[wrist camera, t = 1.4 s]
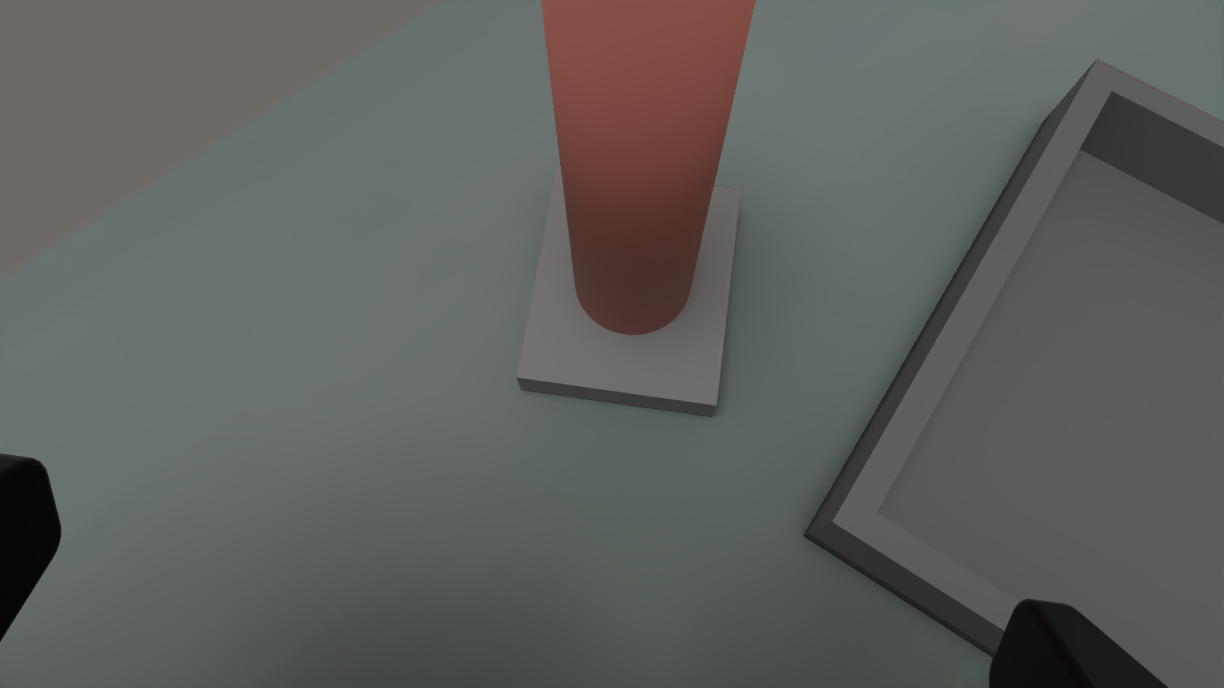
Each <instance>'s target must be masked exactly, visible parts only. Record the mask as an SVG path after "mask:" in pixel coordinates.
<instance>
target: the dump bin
mask: <svg viewBox="0 0 1224 688" xmlns="http://www.w3.org/2000/svg"><path fill="white" fill-rule="evenodd" d="M804 536H805V537H806V538H808V539H809V540H811V541H812V542H814V543H816V544H817V545H819V546H820V547H822V548H823V549H825V550H827V551H828V552H830V553H831V554H833V555H834V556H836V557H837V558H839V559H841V560H842V561H844V562H845V563H847V564H848V565H850V566H851V567H853V568H855V569H856V570H858V571H859V572H861V573H862V574H864V575H866V576H867V577H869V578H870V579H872V580H873V581H875V582H876V583H878V584H880V585H881V586H883V587H884V588H886V589H887V590H889V591H890V592H892V593H894V594H895V595H897V596H898V597H900V598H901V599H903V600H905V601H906V602H908V603H909V604H911V605H912V606H914V607H915V608H917V609H919V610H920V611H922V612H923V613H925V614H926V615H928V616H929V617H931V618H933V619H934V620H936V621H937V622H939V623H940V624H942V625H943V626H945V627H947V628H948V629H950V630H951V631H953V632H954V633H956V634H958V635H959V636H961V637H962V638H964V639H965V640H967V641H968V642H970V643H972V644H973V645H975V646H976V647H978V648H979V649H981V650H982V651H984V652H986V653H987V654H989V655H990V656H992V657H993V658H994V655H995V653H996V650H997V648H998V646H999V643H1000V641H1001V638H1002V636H1003V634H1004V631H1005V629H1006V626H1007V624H1008V622H1009V619H1010V617H1011V614H1012V612H1013V610H1014V608H1015V607H1016V605H1017V604H1018V603H1019V602H1020V601H1022V600H1025V599H1036V600H1043V601H1050V602H1057V603H1064V604H1067V605H1070V606H1072V607H1074V608H1075V609H1076V610H1078V611H1079V612H1080V613H1082V614H1083V615H1084V616H1085V617H1086V618H1087V619H1089V620H1090V621H1091V622H1092V623H1093V624H1094V625H1096V626H1097V627H1098V628H1099V629H1100V630H1102V631H1103V632H1104V633H1105V634H1106V635H1107V636H1109V637H1110V638H1111V639H1112V640H1113V641H1114V642H1116V643H1117V644H1118V645H1119V646H1120V647H1122V648H1123V649H1124V650H1125V651H1126V652H1127V653H1129V654H1130V655H1131V656H1132V657H1133V658H1134V659H1136V660H1137V661H1138V662H1139V663H1140V664H1142V665H1143V666H1144V667H1145V668H1146V669H1147V670H1149V671H1150V672H1151V673H1152V674H1153V675H1154V676H1156V677H1157V678H1158V679H1159V680H1160V681H1162V682H1163V683H1164V684H1165V685H1166V686H1167V687H1169V688H1224V121H1222V120H1220V119H1218V118H1216V117H1214V116H1212V115H1210V114H1208V113H1206V112H1204V111H1202V110H1200V109H1198V108H1196V107H1194V106H1192V105H1190V104H1188V103H1186V102H1184V101H1182V100H1180V99H1178V98H1176V97H1174V96H1172V95H1170V94H1168V93H1166V92H1164V91H1162V90H1160V89H1158V88H1156V87H1154V86H1152V85H1150V84H1148V83H1146V82H1144V81H1142V80H1140V79H1138V78H1135V77H1133V76H1131V75H1129V74H1127V73H1125V72H1123V71H1121V70H1119V69H1117V68H1115V67H1113V66H1111V65H1109V64H1107V63H1105V62H1103V61H1101V60H1099V59H1096V60H1095V62H1094V63H1093V64H1092V65H1091V66H1090V67H1089V69H1088V70H1087V71H1086V72H1085V73H1084V75H1083V76H1082V77H1081V78H1080V79H1079V80H1078V82H1077V83H1076V84H1075V85H1074V86H1073V87H1072V89H1071V90H1070V91H1069V92H1068V93H1067V95H1066V96H1065V97H1064V98H1063V99H1062V100H1061V102H1060V103H1059V104H1058V105H1057V106H1056V107H1055V109H1054V110H1053V111H1052V112H1051V113H1050V115H1049V116H1048V117H1047V118H1046V119H1045V120H1044V122H1043V123H1042V124H1041V126H1040V128H1039V130H1038V131H1037V133H1036V135H1035V136H1034V138H1033V140H1032V142H1031V143H1030V145H1029V147H1028V149H1027V150H1026V152H1025V154H1024V155H1023V157H1022V159H1021V161H1020V162H1019V164H1018V166H1017V168H1016V169H1015V171H1014V173H1013V174H1012V176H1011V178H1010V180H1009V181H1008V183H1007V185H1006V187H1005V188H1004V190H1003V192H1002V193H1001V195H1000V197H999V199H998V200H997V202H996V204H995V206H994V207H993V209H992V211H991V212H990V214H989V216H988V218H987V219H986V221H985V223H984V225H983V226H982V228H981V230H980V231H979V233H978V235H977V237H976V238H975V240H974V242H973V244H972V245H971V247H970V249H969V250H968V252H967V254H966V256H965V257H964V259H963V261H962V263H961V264H960V266H959V268H958V269H957V271H956V273H955V275H954V276H953V278H952V280H951V282H950V283H949V285H948V287H947V289H946V290H945V292H944V294H943V295H942V297H941V299H940V301H939V302H938V304H937V306H936V308H935V309H934V311H933V313H932V314H931V316H930V318H929V320H928V321H927V323H926V325H925V327H924V328H923V330H922V332H921V333H920V335H919V337H918V339H917V340H916V342H915V344H914V346H913V347H912V349H911V351H910V352H909V354H908V356H907V358H906V359H905V361H904V363H903V365H902V366H901V368H900V370H899V371H898V373H897V375H896V377H895V378H894V380H893V382H892V384H891V385H890V387H889V389H888V390H887V392H886V394H885V396H884V397H883V399H882V401H881V403H880V404H879V406H878V408H877V409H876V411H875V413H874V415H873V416H872V418H871V420H870V422H869V423H868V425H867V427H866V428H865V430H864V432H863V434H862V435H861V437H860V439H859V441H858V442H857V444H856V446H855V447H854V449H853V451H852V453H851V454H850V456H849V458H848V460H847V461H846V463H845V465H844V467H843V468H842V470H841V472H840V473H839V475H838V477H837V479H836V480H835V482H834V484H833V486H832V487H831V489H830V491H829V492H828V494H827V496H826V498H825V499H824V501H823V503H822V505H821V506H820V508H819V510H818V511H817V513H816V515H815V517H814V518H813V520H812V522H811V524H810V525H809V527H808V529H807V530H806V532H805V534H804Z"/></svg>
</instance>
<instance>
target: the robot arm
mask: <svg viewBox="0 0 1224 688" xmlns="http://www.w3.org/2000/svg"><path fill="white" fill-rule="evenodd" d="M60 539H61V524H60V520H59V516H58V512H57V508H56V504H55V500H54V496H53V492H52V488H51V484H50V480H49V476H48V473H47V470H46V468H45V467H44V466H43V465H42V463H41V462H40V461H38V460H36V459H33V458H29V457H22V456H15V455H8V454H0V641H1V640H2V638H3V637H4V635H5V633H6V632H7V630H8V629H9V627H10V625H11V624H12V622H13V621H14V619H15V618H16V616H17V614H18V613H19V611H20V610H21V608H22V606H23V605H24V603H25V602H26V600H27V598H28V597H29V595H30V594H31V592H32V591H33V589H34V587H35V586H36V584H37V583H38V581H39V579H40V578H41V576H42V575H43V573H44V572H45V570H46V568H47V567H48V565H49V564H50V562H51V560H52V559H53V557H54V555H55V553H56V551H57V549H58V546H59V543H60ZM989 688H1169V687H1167V686H1166V685H1165V684H1164V683H1163V682H1162V681H1160V680H1159V679H1158V678H1157V677H1156V676H1154V675H1153V674H1152V673H1151V672H1150V671H1149V670H1147V669H1146V668H1145V667H1144V666H1143V665H1142V664H1140V663H1139V662H1138V661H1137V660H1136V659H1134V658H1133V657H1132V656H1131V655H1130V654H1129V653H1127V652H1126V651H1125V650H1124V649H1123V648H1122V647H1120V646H1119V645H1118V644H1117V643H1116V642H1114V641H1113V640H1112V639H1111V638H1110V637H1109V636H1107V635H1106V634H1105V633H1104V632H1103V631H1102V630H1100V629H1099V628H1098V627H1097V626H1096V625H1094V624H1093V623H1092V622H1091V621H1090V620H1089V619H1087V618H1086V617H1085V616H1084V615H1083V614H1082V613H1080V612H1079V611H1078V610H1076V609H1075V608H1074V607H1072V606H1070V605H1067V604H1064V603H1057V602H1050V601H1043V600H1036V599H1025V600H1022V601H1020V602H1019V603H1018V604H1017V605H1016V607H1015V608H1014V610H1013V612H1012V614H1011V617H1010V619H1009V622H1008V624H1007V626H1006V629H1005V631H1004V634H1003V636H1002V638H1001V641H1000V643H999V646H998V648H997V650H996V653H995V655H994V658H993V660H992V663H991V667H990V673H989Z"/></svg>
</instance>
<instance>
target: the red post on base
mask: <svg viewBox="0 0 1224 688" xmlns="http://www.w3.org/2000/svg"><path fill="white" fill-rule="evenodd" d="M541 3H542V12H543V20H544V29H545V37H546V46H547V54H548V63H549V71H550V80H551V88H552V97H553V105H554V114H555V122H556V130H557V139H558V147H559V156H560V164H561V166H558V165H556V169H555V175H554V180H553V185H552V191H551V196H550V201H549V207H548V212H547V217H546V223H545V228H544V233H543V239H542V244H541V249H540V255H539V260H538V265H537V271H536V276H535V281H534V287H533V292H532V297H531V303H530V308H529V313H528V319H527V324H526V329H525V335H524V340H523V345H522V351H521V356H520V361H519V367H518V372H517V380H518V382H519V385H520V387H521V390H526V391H533V392H540V393H547V394H554V395H561V396H568V397H576V398H583V399H590V400H597V401H604V402H611V403H618V404H625V405H632V406H639V407H646V408H653V409H660V410H667V411H674V412H681V413H688V414H695V415H702V416H709V417H712V415H713V413H714V411H715V408H716V406H717V399H718V391H719V382H720V373H721V364H722V355H723V346H724V337H725V328H726V319H727V310H728V302H729V293H730V284H731V275H732V266H733V257H734V248H735V239H736V230H737V221H738V213H739V204H740V195H741V189H737V188H729V187H721V186H714V183H715V178H716V174H717V169H718V165H719V160H720V156H721V151H722V147H723V143H724V138H725V134H726V129H727V125H728V120H729V116H730V111H731V107H732V103H733V98H734V94H735V89H736V85H737V80H738V76H739V72H740V67H741V63H742V58H743V54H744V49H745V45H746V40H747V36H748V32H749V27H750V23H751V18H752V14H753V9H754V5H755V0H541Z"/></svg>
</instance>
